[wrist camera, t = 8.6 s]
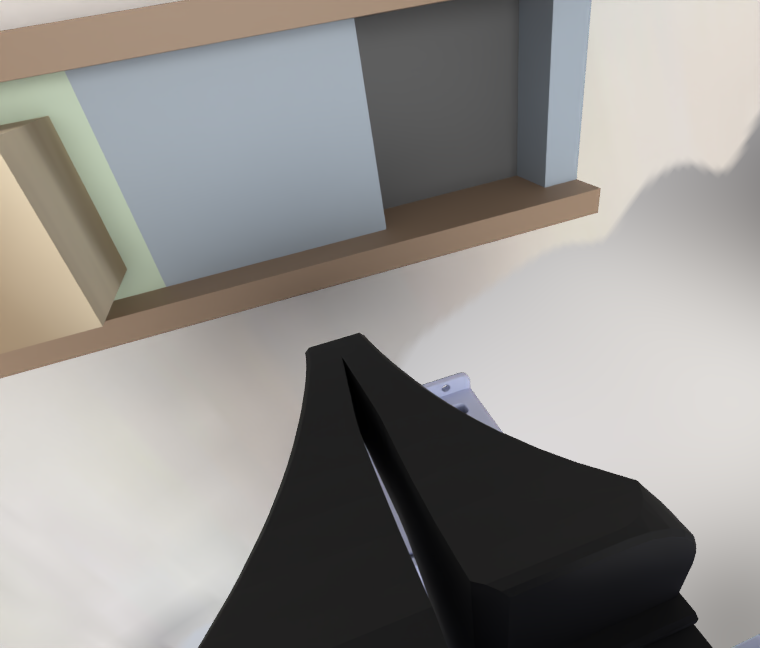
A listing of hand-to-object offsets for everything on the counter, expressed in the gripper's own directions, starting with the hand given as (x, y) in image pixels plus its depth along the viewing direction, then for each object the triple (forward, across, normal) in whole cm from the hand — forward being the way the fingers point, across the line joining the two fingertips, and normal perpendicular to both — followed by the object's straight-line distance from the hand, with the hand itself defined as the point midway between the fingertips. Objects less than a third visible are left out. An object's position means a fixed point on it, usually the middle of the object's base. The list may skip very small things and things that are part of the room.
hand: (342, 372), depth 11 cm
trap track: (+10, +3, -3) cm, 11 cm away
